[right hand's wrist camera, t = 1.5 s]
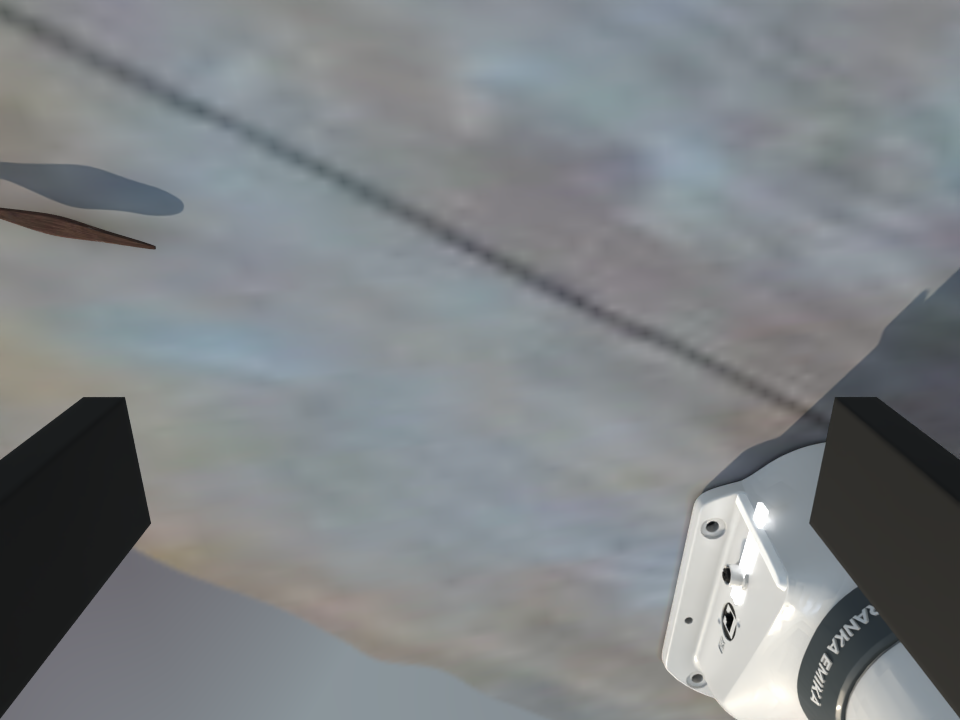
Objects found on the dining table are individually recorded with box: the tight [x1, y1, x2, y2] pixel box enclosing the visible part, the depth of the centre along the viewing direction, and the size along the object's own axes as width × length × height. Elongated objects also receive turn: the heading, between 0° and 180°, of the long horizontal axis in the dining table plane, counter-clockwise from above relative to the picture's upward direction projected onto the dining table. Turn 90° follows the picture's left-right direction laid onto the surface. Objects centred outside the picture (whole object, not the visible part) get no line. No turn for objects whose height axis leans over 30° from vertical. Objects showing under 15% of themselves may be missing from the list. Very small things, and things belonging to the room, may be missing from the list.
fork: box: [0, 208, 156, 249], centre depth 38 cm, size 3×16×2 cm, turn 76°
